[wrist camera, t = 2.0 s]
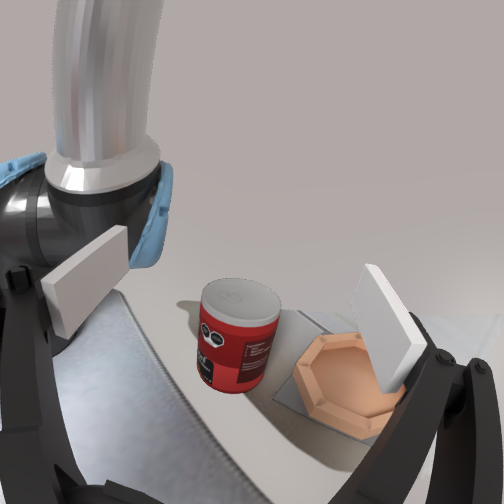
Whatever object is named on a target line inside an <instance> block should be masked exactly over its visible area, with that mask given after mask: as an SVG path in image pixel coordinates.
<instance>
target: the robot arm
mask: <svg viewBox="0 0 504 504" xmlns="http://www.w3.org/2000/svg"><path fill="white" fill-rule="evenodd" d="M163 4H164V0H58V2H57V9H56V17H55V26H54V37H53V53H52V100H53V117H54V129H55V139H56V147H55V148H54V150H53V151H52V153H51V154H50V155H49V157H48V158H47V157H46V154H45V153H44V152H40V153H34V154H30V155H26V156H23V157H19V158H16V159H13V160H10V161H6V162H3V163H0V400H1V419H2V430H1V431H0V481H1V486H2V490H3V494H4V498H5V502H6V504H164V503H162V502H160V501H158V500H156V499H154V498H152V497H150V496H148V495H147V494H145V493H143V492H140V491H137V490H134V489H131V488H128V487H125V486H123V485H120V484H117V483H115V482H112V481H110V480H106V483H105V486H104V485H87V483H86V481H85V479H84V477H83V476H82V474H81V472H80V471H79V469H78V467H77V464H76V461H75V458H74V455H73V452H72V449H71V446H70V443H69V439H68V436H67V432H66V428H65V424H64V420H63V416H62V412H61V407H60V403H59V398H58V393H57V387H56V382H55V375H54V369H53V361H52V356H54V355H56V354H57V353H59V352H60V351H62V350H63V349H64V348H65V347H66V346H67V345H68V344H69V343H70V342H71V340H72V339H73V337H74V336H75V334H76V331H77V329H78V328H79V326H80V325H81V324H82V323H83V322H84V320H85V319H86V318H87V317H88V316H89V315H90V313H91V312H92V311H93V310H94V309H95V308H96V307H97V305H98V304H99V303H100V302H101V301H102V300H103V299H104V297H105V296H106V295H107V294H108V293H109V292H110V291H111V290H112V289H113V287H114V286H115V285H116V284H117V283H118V282H119V281H120V280H121V279H122V277H123V276H124V275H125V274H126V273H127V272H128V271H129V269H134V268H148V267H151V266H153V265H154V264H155V263H156V262H157V261H158V260H159V258H160V256H161V253H162V250H163V245H164V241H165V236H166V230H167V223H168V211H169V206H170V202H171V195H172V185H173V168H172V166H171V165H170V164H169V163H165V162H163V161H160V149H159V146H158V144H157V143H156V142H155V141H154V140H153V139H152V138H151V137H150V136H148V135H147V134H146V121H147V110H148V98H149V89H150V81H151V73H152V66H153V58H154V52H155V46H156V40H157V34H158V29H159V23H160V19H161V14H162V9H163ZM351 309H352V311H353V314H354V317H355V319H356V322H357V324H358V327H359V330H360V332H361V335H362V338H363V341H364V343H365V346H366V349H367V352H368V355H369V357H370V360H371V363H372V366H373V369H374V372H375V375H376V378H377V381H378V384H379V387H380V390H381V393H382V394H386V393H397V392H398V391H399V389H400V388H401V386H402V385H403V383H404V386H405V388H406V391H405V392H404V394H403V395H402V397H401V398H400V399H399V401H398V402H397V403H396V405H395V406H394V407H395V410H394V411H393V413H392V415H391V417H390V418H389V420H388V422H387V423H386V425H385V427H384V428H383V430H382V432H381V433H380V435H379V436H378V438H377V439H376V441H375V442H374V444H373V445H372V447H371V448H370V450H369V451H368V453H367V454H366V456H365V457H364V459H363V460H362V461H361V463H360V464H359V465H358V467H357V468H356V470H355V471H354V472H353V473H352V475H351V476H350V478H349V479H348V480H347V481H346V483H345V484H344V485H343V486H342V487H341V489H340V490H339V491H338V492H337V493H336V495H335V496H334V497H333V498H332V499H331V500H330V502H329V503H328V504H403V502H404V500H405V498H406V497H407V495H408V493H409V491H410V490H411V488H412V486H413V484H414V482H415V480H416V478H417V476H418V474H419V472H420V470H421V468H422V465H423V463H424V461H425V459H426V456H427V454H428V452H429V449H430V447H431V445H432V442H433V440H434V437H435V434H436V432H437V439H436V447H435V455H434V462H433V468H432V474H431V480H430V485H429V490H428V494H427V499H426V503H425V504H502V503H501V502H502V490H503V449H502V434H501V424H500V415H499V408H498V401H497V395H496V390H495V384H494V379H493V374H492V370H491V368H490V367H489V365H488V364H487V362H485V361H484V360H481V359H479V358H473V359H471V360H470V362H469V363H468V365H467V366H463V365H459V364H456V361H455V358H454V357H453V356H452V355H451V354H450V353H449V352H447V351H445V350H443V349H437V348H436V346H435V344H434V343H433V341H432V339H431V338H430V336H429V334H428V333H427V332H426V330H425V328H424V327H423V325H422V323H421V322H420V320H419V319H418V318H417V317H416V316H415V315H414V314H413V313H411V312H408V311H407V310H406V308H405V306H404V305H403V304H402V302H401V300H400V299H399V297H398V296H397V294H396V293H395V291H394V290H393V288H392V287H391V285H390V284H389V282H388V281H387V279H386V278H385V276H384V275H383V273H382V272H381V271H380V269H379V268H378V266H377V265H370V264H364V267H363V271H362V274H361V277H360V280H359V283H358V286H357V289H356V292H355V294H354V297H353V300H352V303H351Z"/></svg>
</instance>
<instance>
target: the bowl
mask: <svg viewBox="0 0 504 504" xmlns="http://www.w3.org/2000/svg"><path fill="white" fill-rule="evenodd" d="M293 377H294V379H295V382H296V384H297V387H298V389H299V392H300V394H301V397H302V399H303V402H304V404H305V407H306V409H307V412H308V414H309V416H310V417H312V418H314V419H316V420H318V421H320V422H322V423H324V424H327V425H329V426H331V427H333V428H335V429H337V430H340V431H342V432H344V433H346V434H349V435H351V436H353V437H356V438H358V439H361V440H363V439H366V438H369V437H372V436H375V435H378V434H380V433H381V432H382V430H383V428H384V427H385V425H386V423H387V422H388V420H389V418H390V417H391V415H392V413H393V411H394V410H395V407H394V406H395V405H396V403H397V402H398V401H399V399H400V398H401V397H402V395H403V394H404V392H405V391H406V388H405V386H404V383H403V385H402V386H401V388H400V389H399V391H398V392H397V393H386V394H382V393H381V390H380V387H379V384H378V381H377V378H376V375H375V372H374V369H373V366H372V363H371V360H370V357H369V355H368V352H367V349H366V346H365V343H364V341H363V338H362V335H361V333H358V332H353V333H343V334H332V335H320V336H317V337H316V339H315V340H314V341H313V343H312V344H311V345H310V346H309V348H308V349H307V350H306V351H305V353H304V354H303V355H302V357H301V358H300V359H299V360H298V361H297V363H296V365H295V368H294V371H293Z"/></svg>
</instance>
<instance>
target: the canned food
mask: <svg viewBox="0 0 504 504" xmlns="http://www.w3.org/2000/svg"><path fill="white" fill-rule="evenodd" d="M280 312H281V301H280V299H279V297H278V296H277V295H276V293H275V292H273V291H272V290H271V289H269V288H268V287H266V286H264V285H262V284H260V283H257V282H254V281H250V280H246V279H239V278H238V279H237V278H225V279H219V280H216V281H213V282H211V283H209V284H208V285H207V286H205V288H204V289H203V292H202V296H201V304H200V315H199V331H198V349H197V369H198V372H199V374H200V376H201V378H202V380H203V381H204V382H205V383H206V384H207V385H208V386H210V387H211V388H213V389H215V390H217V391H219V392H223V393H228V394H239V393H244V392H247V391H250V390H251V389H253V388H254V387H255V386H256V385H257V384H258V383H259V382H260V381H261V379H262V377H263V374H264V370H265V367H266V363H267V360H268V357H269V353H270V350H271V346H272V343H273V339H274V336H275V332H276V329H277V325H278V321H279V317H280Z"/></svg>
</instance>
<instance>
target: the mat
mask: <svg viewBox="0 0 504 504" xmlns="http://www.w3.org/2000/svg"><path fill="white" fill-rule="evenodd" d="M332 334H333V333H331V332H329V331H327V330H326V331H325V332H324V333H323V335H332ZM273 400H275V401H277V402H279V403H280V404H282V405H284V406H286V407H288V408H290V409H292V410H294V411H296V412H297V413H299V414H301V415H303V416H305V417H307V418H309V419H311V420H313V421H315V422H317V423H320V424H322V425H324V426H326V427H328V428H330V429H332V430H334V431H337V432H339V433H341V434H343V435H346V436H348V437H350V438H353V439H355V440H357V441H360V442H362V443H365V444H367V445H370V446H372V445H373V444H374V442H375V441H376V439H377V438H378V436H379V435H380V434H378V435H375V436H372V437H369V438H366V439H363V440H361V439H358V438H356V437H353V436H351V435H349V434H346V433H344V432H342V431H340V430H337V429H335V428H333V427H331V426H329V425H327V424H324V423H322V422H320V421H318V420H316V419H314V418H312V417H310V416H309V414H308V412H307V409H306V407H305V404H304V402H303V399H302V397H301V394H300V392H299V389H298V387H297V384H296V382H295V379H294V377H293V374H292V375H291V376H290V377H289V379H288V380H287V381H286V382H285V383H284V385H283V386H282V387H281V388H280V389H279V391H278V392H277V393H276V394H275V395H274V397H273Z"/></svg>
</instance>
